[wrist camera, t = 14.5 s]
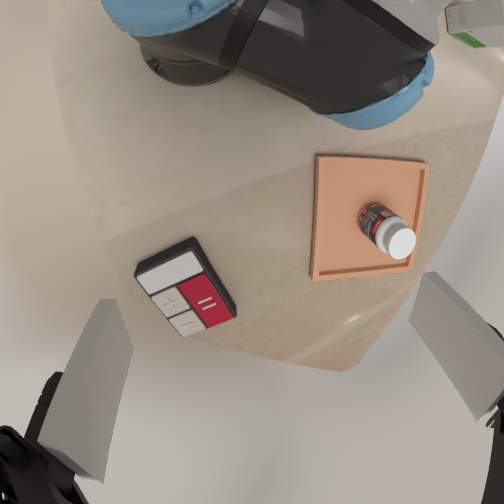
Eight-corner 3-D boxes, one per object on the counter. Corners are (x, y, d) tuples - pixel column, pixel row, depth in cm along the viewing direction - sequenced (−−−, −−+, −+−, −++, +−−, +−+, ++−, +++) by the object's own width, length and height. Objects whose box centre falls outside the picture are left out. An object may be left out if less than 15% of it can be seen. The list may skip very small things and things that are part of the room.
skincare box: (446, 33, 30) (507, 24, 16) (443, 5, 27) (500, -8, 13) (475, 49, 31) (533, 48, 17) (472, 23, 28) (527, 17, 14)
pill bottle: (356, 203, 43) (387, 226, 34) (386, 199, 43) (421, 221, 34) (356, 236, 45) (384, 266, 36) (385, 231, 45) (417, 258, 36)
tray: (315, 155, 39) (319, 156, 38) (422, 161, 41) (429, 164, 39) (309, 275, 48) (312, 281, 47) (406, 265, 50) (411, 270, 48)
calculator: (182, 340, 48) (131, 277, 41) (183, 324, 52) (137, 263, 45) (238, 319, 47) (192, 248, 40) (236, 303, 51) (194, 234, 44)
